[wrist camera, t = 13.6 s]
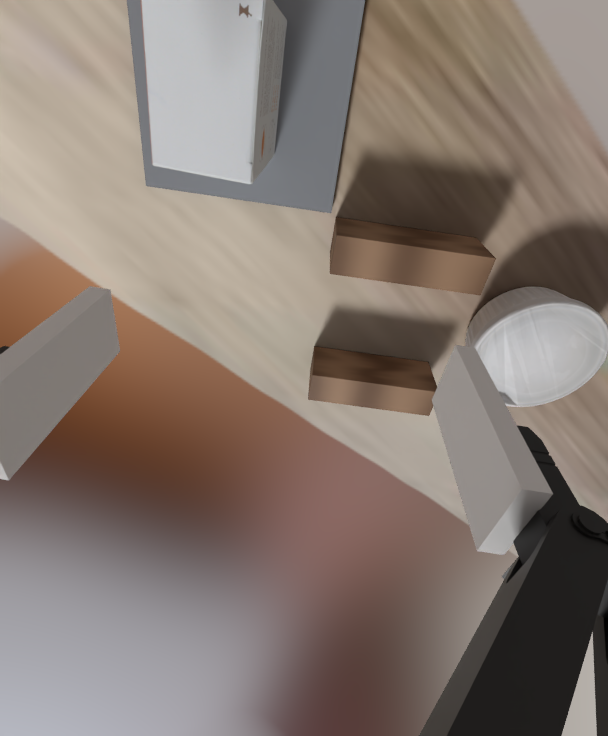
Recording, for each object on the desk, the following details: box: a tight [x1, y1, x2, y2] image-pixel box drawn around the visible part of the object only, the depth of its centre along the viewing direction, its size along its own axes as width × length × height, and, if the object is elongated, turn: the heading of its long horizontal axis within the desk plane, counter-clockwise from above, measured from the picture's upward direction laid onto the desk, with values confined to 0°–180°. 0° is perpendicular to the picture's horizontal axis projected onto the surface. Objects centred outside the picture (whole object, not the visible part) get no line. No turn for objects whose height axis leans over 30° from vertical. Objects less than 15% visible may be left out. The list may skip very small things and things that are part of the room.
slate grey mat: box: [127, 0, 365, 213], centre depth 28 cm, size 15×15×1 cm
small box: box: [140, 0, 287, 184], centre depth 23 cm, size 8×6×10 cm
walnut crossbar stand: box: [308, 217, 496, 416], centre depth 36 cm, size 12×16×5 cm
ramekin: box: [465, 286, 608, 407], centre depth 36 cm, size 11×11×5 cm
